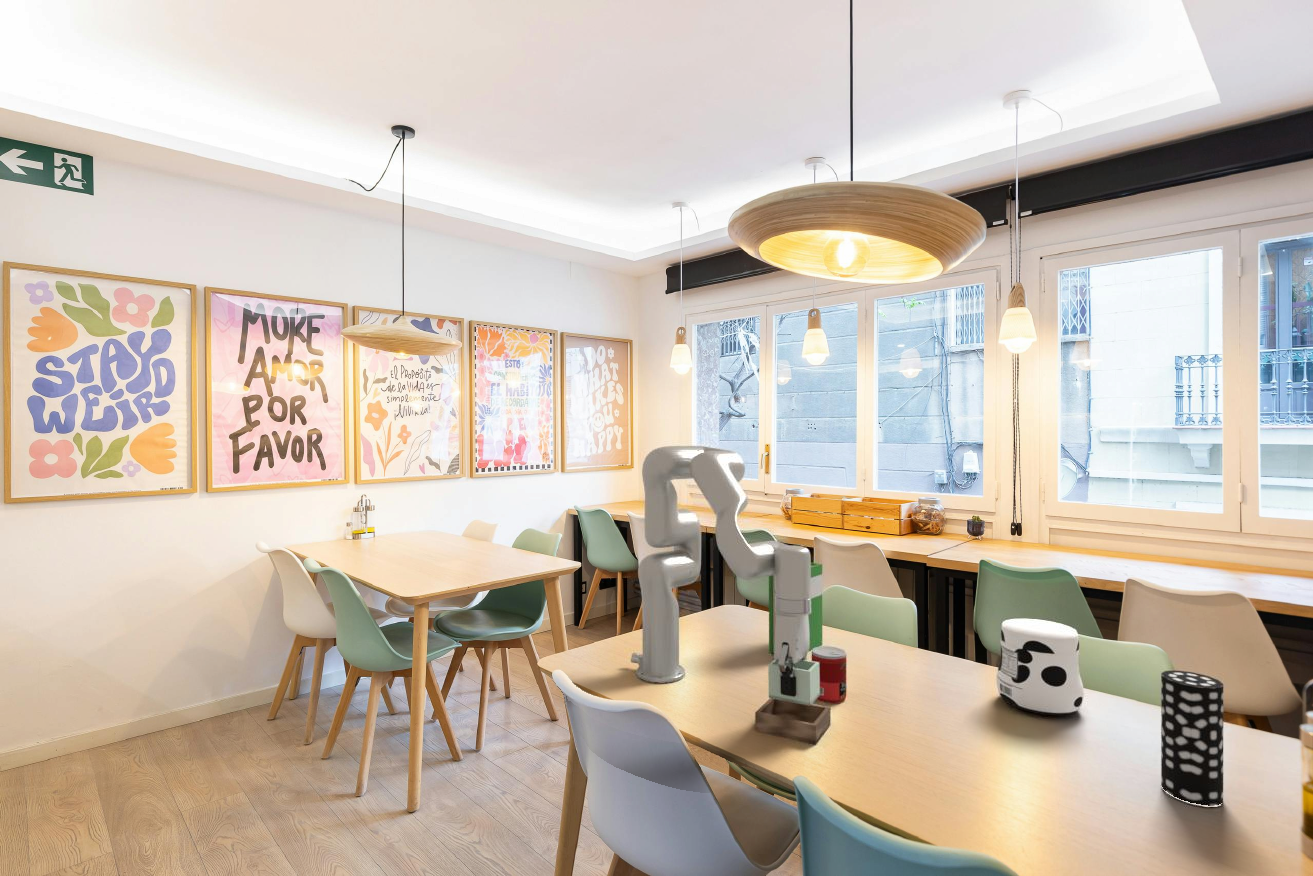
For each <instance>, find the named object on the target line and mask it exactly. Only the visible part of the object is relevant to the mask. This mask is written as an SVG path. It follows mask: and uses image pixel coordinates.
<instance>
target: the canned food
mask: <svg viewBox="0 0 1313 876" xmlns="http://www.w3.org/2000/svg"><path fill="white" fill-rule="evenodd" d="M811 661H814V662H819V675H820V696H819V697H818V698H817V699H816V700H815V701H818V702H822V703H826V704H839V703H840V702H841V703H843V702H845V700H846V697H847V652H846V651H845V649H841V648H839V647H835V646H829V645H826V646H825V645H824V646H823V645H821V646H819V647H815V648H813V649H812V651H811Z"/></svg>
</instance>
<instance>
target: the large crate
mask: <svg viewBox="0 0 1313 876" xmlns="http://www.w3.org/2000/svg"><path fill="white" fill-rule="evenodd" d="M754 723H755V724H754V728H755V729H754V730H755V731H756V732H761V733H763V734H764V733H765V734H768V735H772V736H776V737H777V736H778V737H782V738H786V739H790V740H792V741H798V742H802V743H807V744H810V745H816V746H817V744H818V743H819V741H821V739H822V737H823V736H824V735H825V733H826V732H827V730H829V728H830V727H831V723H832V722H831V706H825V705H821V704H816V703H813V704H812V705H811V706H808V705H803V704H798V703H793V702H788V701H783V700H778V699H773V698H768V700H767V701H765V702H764V703H763V704H762V706H760V707H759V708H758V709H757V710H756V711H755V712H754Z"/></svg>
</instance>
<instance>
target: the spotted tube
mask: <svg viewBox="0 0 1313 876" xmlns="http://www.w3.org/2000/svg"><path fill="white" fill-rule="evenodd" d="M1160 676H1161V677H1160V678H1161V680H1160V681H1161V682H1160V683H1161V689H1160V692H1161V696H1160V698H1161V700H1160V702H1161V704H1160V706H1161V707H1160V709H1161V710H1160V712H1161V714H1160V715H1161V717H1160V718H1161V719H1160V721H1161V725H1160V730H1161V731H1160V733H1161V736H1160V739H1161V743H1160V746H1161V748H1160V750H1161V751H1160V754H1161V758H1160V761H1161V762H1160V765H1161V766H1160V771H1161V772H1160V775H1161V776H1160V782H1161V784H1160V785H1161V786H1162V787H1163V789H1164V790H1165V791H1167V792H1168V793H1169V794H1171V795H1173V796H1174V797H1177V798H1179V799H1181V800H1184V801H1188V802H1190V803H1196V804H1201V805H1208V806H1214V805H1219V804H1221V803H1223V804H1224V683H1223V682H1222V681H1220V680H1219V679H1218V678H1217V679H1216V678H1215V677H1212V676H1209V675H1205V674H1202V673H1197V672H1191V671H1184V670H1177V669H1176V670H1165V671H1162V672H1161V675H1160Z"/></svg>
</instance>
